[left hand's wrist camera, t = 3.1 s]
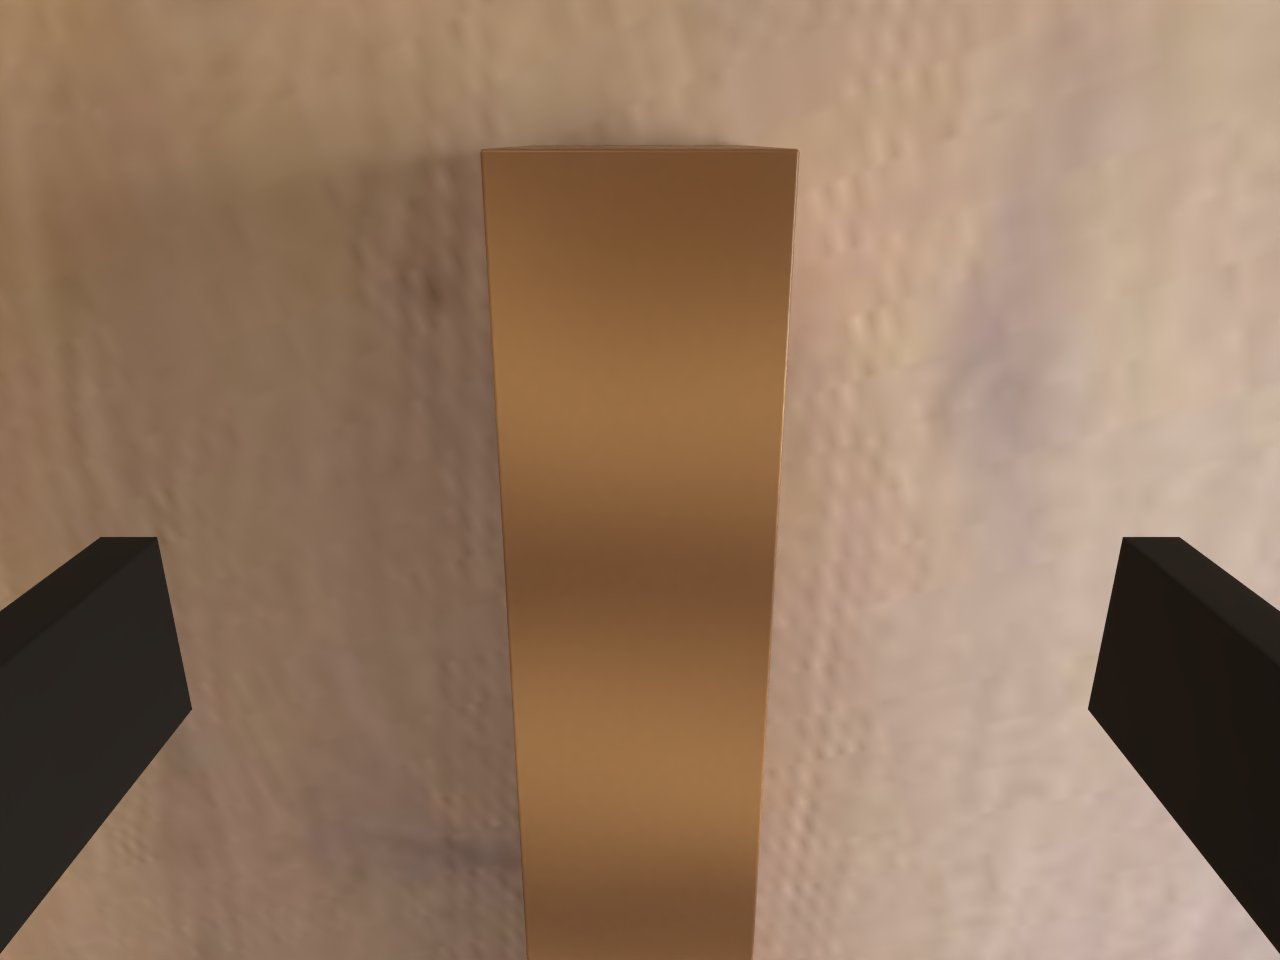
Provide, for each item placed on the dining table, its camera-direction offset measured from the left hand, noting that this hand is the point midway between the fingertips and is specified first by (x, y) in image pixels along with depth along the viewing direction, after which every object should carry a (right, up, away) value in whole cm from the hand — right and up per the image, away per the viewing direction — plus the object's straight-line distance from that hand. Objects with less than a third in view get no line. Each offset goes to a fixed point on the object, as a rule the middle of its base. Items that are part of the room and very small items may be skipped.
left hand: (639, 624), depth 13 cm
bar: (0, -23, +23) cm, 32 cm away
